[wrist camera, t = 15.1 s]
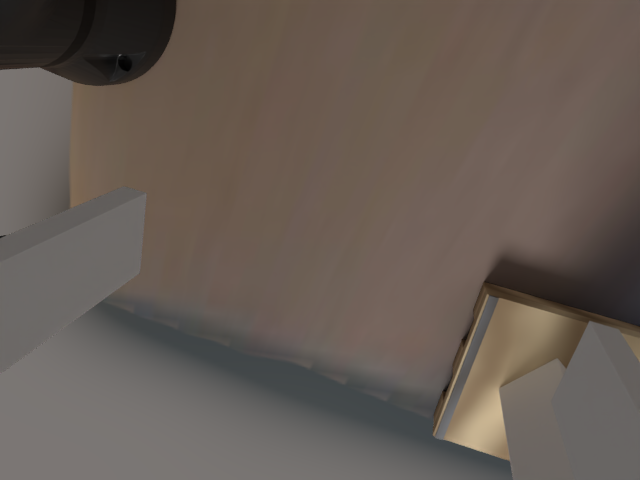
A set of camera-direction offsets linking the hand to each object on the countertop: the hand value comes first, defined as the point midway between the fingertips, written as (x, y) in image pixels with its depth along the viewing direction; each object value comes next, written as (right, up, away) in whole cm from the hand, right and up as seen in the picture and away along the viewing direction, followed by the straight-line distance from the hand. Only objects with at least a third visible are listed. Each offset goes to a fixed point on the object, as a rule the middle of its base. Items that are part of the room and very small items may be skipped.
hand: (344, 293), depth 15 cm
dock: (+20, -12, +34) cm, 41 cm away
